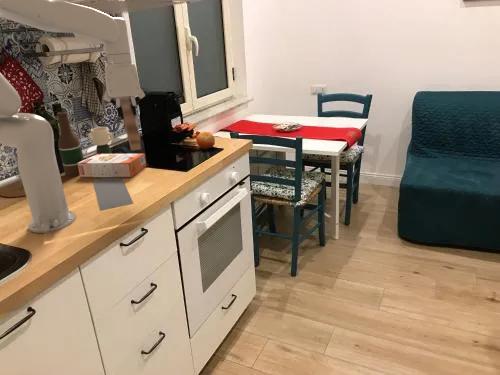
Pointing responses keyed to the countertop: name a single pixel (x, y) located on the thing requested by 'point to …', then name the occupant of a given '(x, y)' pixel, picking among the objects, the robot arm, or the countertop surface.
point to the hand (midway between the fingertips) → (127, 117)
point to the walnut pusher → (130, 124)
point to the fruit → (205, 140)
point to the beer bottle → (69, 146)
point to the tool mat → (111, 193)
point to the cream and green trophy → (101, 139)
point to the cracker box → (112, 165)
